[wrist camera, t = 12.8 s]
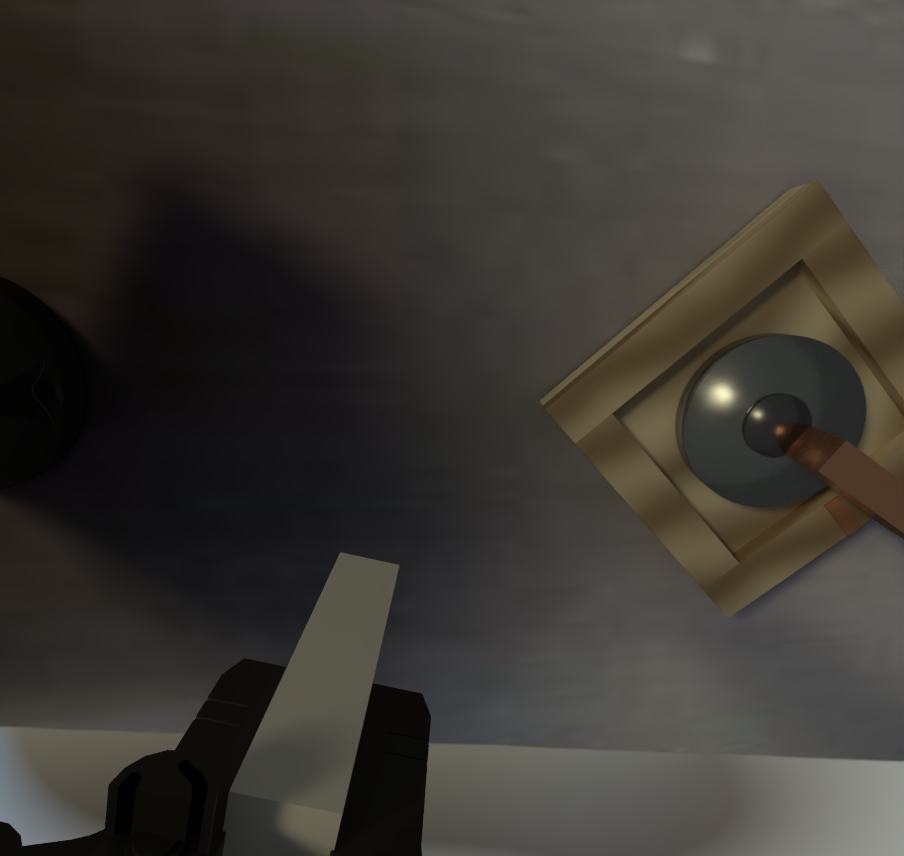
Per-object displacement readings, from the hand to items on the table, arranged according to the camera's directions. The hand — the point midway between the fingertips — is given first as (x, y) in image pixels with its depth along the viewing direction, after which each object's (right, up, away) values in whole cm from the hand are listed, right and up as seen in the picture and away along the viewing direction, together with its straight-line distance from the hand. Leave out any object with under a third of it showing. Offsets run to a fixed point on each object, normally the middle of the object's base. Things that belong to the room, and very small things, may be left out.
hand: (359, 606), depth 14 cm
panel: (+22, +6, +23) cm, 33 cm away
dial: (+25, +4, +22) cm, 33 cm away
